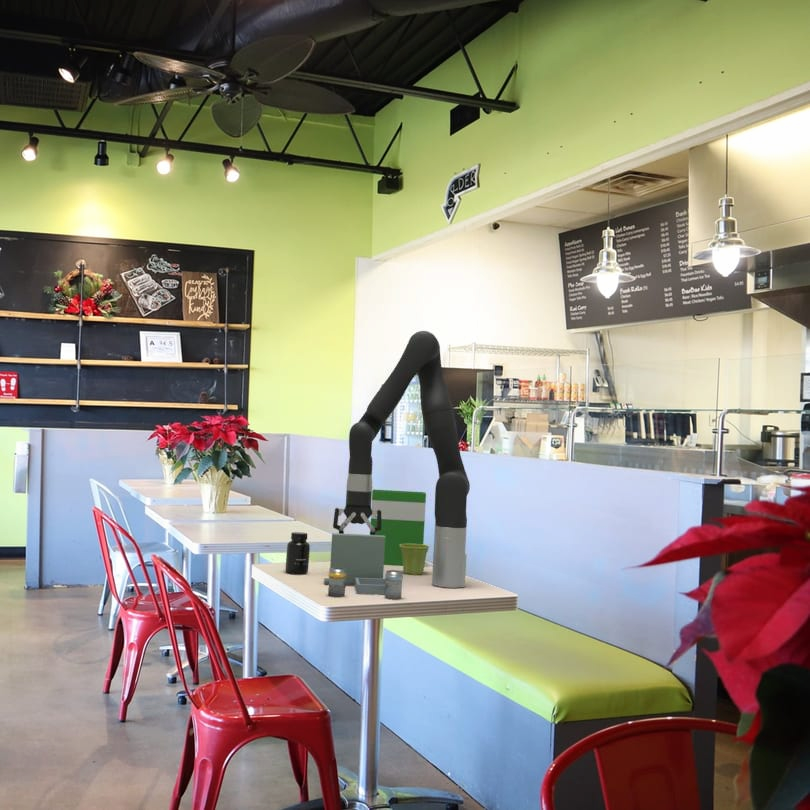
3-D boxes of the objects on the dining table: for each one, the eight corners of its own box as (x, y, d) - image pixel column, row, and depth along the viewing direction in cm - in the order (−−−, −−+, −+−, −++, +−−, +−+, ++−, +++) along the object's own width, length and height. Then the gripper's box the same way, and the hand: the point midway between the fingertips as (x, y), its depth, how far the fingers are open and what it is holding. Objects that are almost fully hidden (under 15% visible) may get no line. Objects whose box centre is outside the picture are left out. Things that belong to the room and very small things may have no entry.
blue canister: (400, 596, 246) (402, 570, 246) (402, 600, 242) (403, 573, 242) (383, 596, 246) (385, 569, 246) (385, 599, 241) (386, 572, 241)
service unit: (386, 584, 265) (389, 535, 265) (388, 587, 260) (390, 537, 260) (324, 581, 263) (326, 532, 263) (324, 584, 258) (327, 534, 258)
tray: (393, 588, 259) (394, 579, 259) (397, 595, 248) (397, 586, 248) (354, 586, 258) (355, 577, 258) (356, 593, 247) (357, 584, 247)
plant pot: (401, 575, 281) (403, 547, 282) (395, 570, 291) (396, 543, 291) (431, 576, 284) (432, 547, 284) (423, 571, 293) (425, 543, 293)
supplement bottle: (299, 575, 271) (301, 535, 271) (280, 572, 274) (283, 532, 275) (312, 573, 277) (315, 533, 277) (294, 570, 280) (296, 531, 281)
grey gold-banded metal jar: (344, 594, 245) (346, 568, 246) (345, 597, 241) (346, 570, 241) (327, 593, 245) (329, 567, 245) (327, 597, 240) (329, 570, 240)
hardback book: (368, 564, 301) (372, 490, 301) (368, 560, 308) (372, 489, 309) (422, 567, 301) (426, 493, 302) (421, 563, 308) (425, 492, 309)
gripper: (382, 489, 276) (379, 543, 276) (334, 487, 275) (331, 541, 275) (384, 491, 269) (381, 546, 268) (335, 489, 267) (332, 544, 267)
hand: (356, 544), depth 272 cm, fingers open, 8 cm apart
